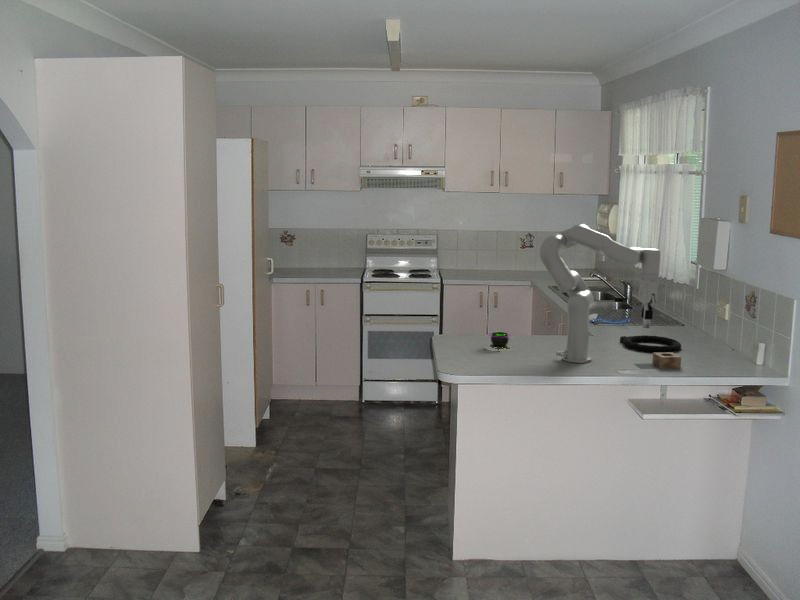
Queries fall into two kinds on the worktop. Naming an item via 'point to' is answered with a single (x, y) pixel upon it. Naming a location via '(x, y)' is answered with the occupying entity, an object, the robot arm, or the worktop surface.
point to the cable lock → (631, 344)
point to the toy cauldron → (499, 340)
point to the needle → (646, 321)
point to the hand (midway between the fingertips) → (646, 318)
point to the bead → (666, 360)
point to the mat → (648, 366)
